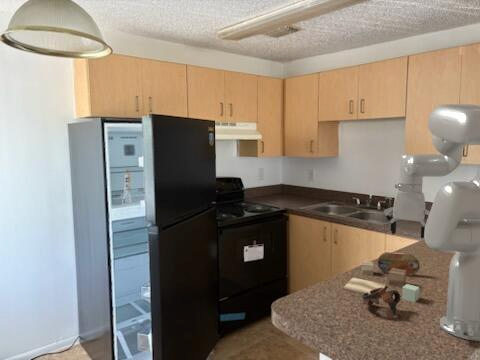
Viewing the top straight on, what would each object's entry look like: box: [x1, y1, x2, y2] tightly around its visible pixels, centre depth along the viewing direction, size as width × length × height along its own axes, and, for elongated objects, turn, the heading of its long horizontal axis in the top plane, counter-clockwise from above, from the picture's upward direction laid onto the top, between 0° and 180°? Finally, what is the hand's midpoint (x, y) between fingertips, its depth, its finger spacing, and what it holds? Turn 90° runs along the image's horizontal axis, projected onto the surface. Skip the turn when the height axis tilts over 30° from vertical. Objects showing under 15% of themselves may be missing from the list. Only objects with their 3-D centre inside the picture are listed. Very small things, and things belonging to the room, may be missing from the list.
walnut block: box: [388, 268, 407, 289], centre depth 134 cm, size 5×5×5 cm
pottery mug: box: [361, 287, 401, 320], centre depth 113 cm, size 12×10×8 cm
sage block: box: [401, 283, 420, 303], centre depth 121 cm, size 4×4×4 cm
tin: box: [377, 251, 420, 277], centre depth 144 cm, size 15×3×8 cm, turn 73°
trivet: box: [342, 277, 387, 295], centre depth 130 cm, size 12×12×1 cm
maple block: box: [362, 261, 375, 276], centre depth 145 cm, size 4×4×4 cm
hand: (407, 235), depth 133 cm, fingers open, 9 cm apart
